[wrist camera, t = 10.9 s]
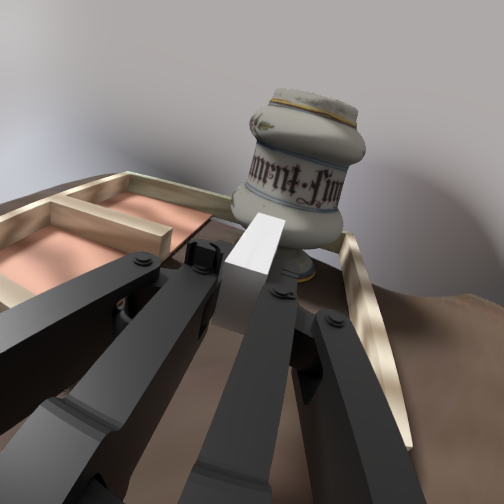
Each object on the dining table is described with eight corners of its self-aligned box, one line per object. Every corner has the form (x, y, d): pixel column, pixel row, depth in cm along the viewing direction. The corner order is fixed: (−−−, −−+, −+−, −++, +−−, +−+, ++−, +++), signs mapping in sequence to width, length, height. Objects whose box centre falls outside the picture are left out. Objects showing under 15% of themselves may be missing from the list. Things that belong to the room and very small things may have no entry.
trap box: (382, 473, 12) (412, 446, 11) (-57, 280, 15) (-65, 248, 14) (346, 253, 42) (353, 233, 41) (125, 189, 45) (127, 171, 43)
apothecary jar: (197, 243, 33) (234, 76, 26) (267, 231, 42) (302, 101, 35) (282, 303, 27) (346, 93, 19) (342, 273, 35) (392, 125, 28)
